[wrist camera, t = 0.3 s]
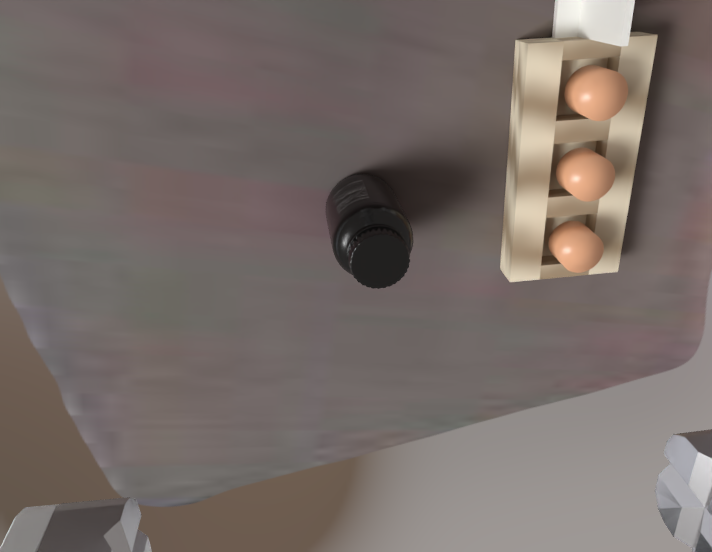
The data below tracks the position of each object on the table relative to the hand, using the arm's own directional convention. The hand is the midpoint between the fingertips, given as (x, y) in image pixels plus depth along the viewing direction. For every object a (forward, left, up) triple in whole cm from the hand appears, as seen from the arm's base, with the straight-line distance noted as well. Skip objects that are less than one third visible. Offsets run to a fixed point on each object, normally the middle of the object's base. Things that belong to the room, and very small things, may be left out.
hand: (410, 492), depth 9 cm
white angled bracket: (-4, +24, -47) cm, 52 cm away
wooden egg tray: (+10, +24, -47) cm, 53 cm away
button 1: (+17, +23, -44) cm, 52 cm away
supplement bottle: (+13, +4, -47) cm, 49 cm away
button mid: (+10, +24, -44) cm, 51 cm away
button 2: (+3, +24, -44) cm, 50 cm away
